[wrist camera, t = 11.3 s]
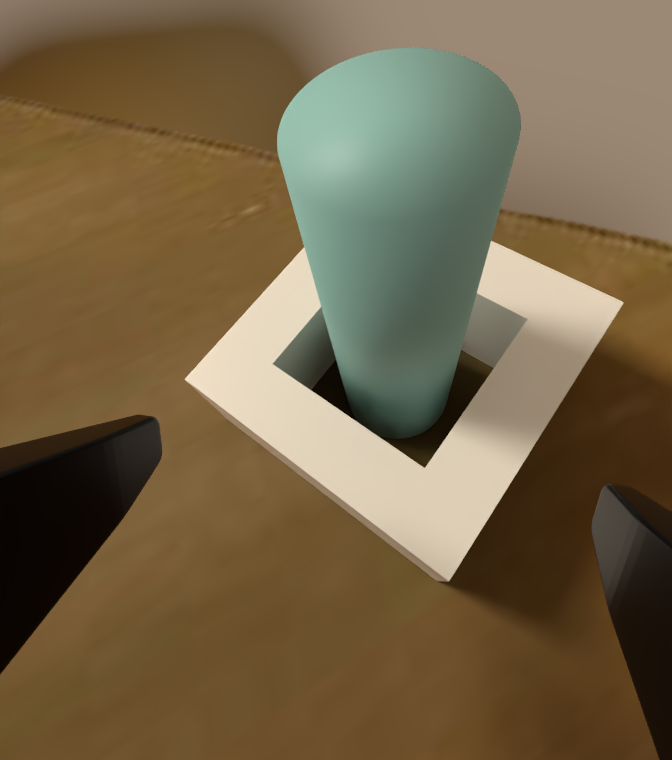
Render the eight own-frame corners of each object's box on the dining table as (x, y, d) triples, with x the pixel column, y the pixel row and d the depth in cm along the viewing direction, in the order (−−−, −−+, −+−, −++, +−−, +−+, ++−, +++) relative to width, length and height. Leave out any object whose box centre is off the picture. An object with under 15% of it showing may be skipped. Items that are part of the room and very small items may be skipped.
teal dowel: (467, 408, 19) (575, 145, 8) (376, 457, 19) (341, 259, 7) (414, 330, 21) (435, 20, 9) (330, 373, 21) (242, 106, 9)
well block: (576, 359, 20) (623, 302, 16) (436, 581, 17) (449, 581, 13) (369, 251, 23) (363, 181, 19) (227, 418, 21) (184, 379, 17)
